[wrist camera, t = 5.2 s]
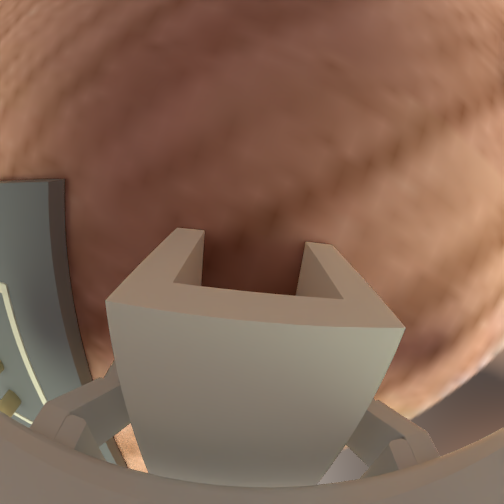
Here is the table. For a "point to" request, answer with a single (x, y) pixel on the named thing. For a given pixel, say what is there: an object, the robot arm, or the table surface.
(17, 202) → the board
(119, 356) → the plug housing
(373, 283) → the table surface
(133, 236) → the table surface
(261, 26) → the table surface
